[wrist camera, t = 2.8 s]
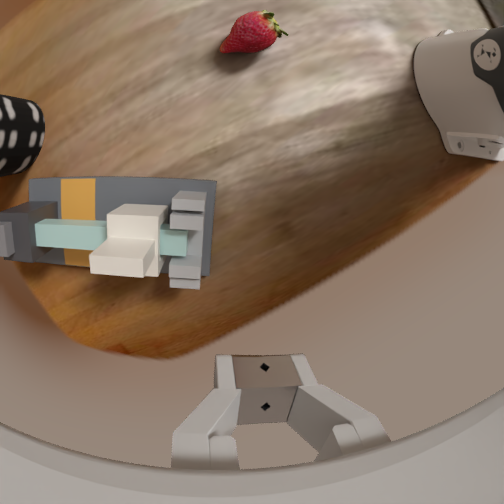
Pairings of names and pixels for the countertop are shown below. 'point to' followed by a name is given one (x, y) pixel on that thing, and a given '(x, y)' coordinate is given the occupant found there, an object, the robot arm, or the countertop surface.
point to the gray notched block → (192, 219)
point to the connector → (24, 230)
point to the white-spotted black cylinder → (19, 134)
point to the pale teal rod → (100, 235)
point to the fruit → (252, 33)
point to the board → (116, 206)
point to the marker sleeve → (131, 242)
